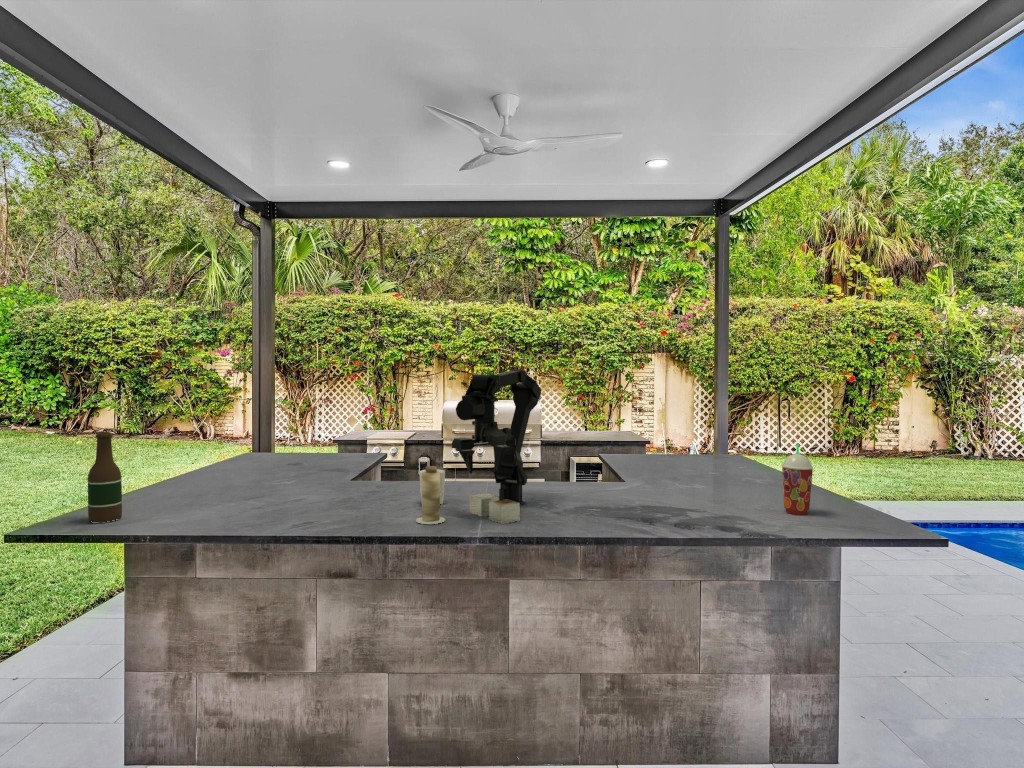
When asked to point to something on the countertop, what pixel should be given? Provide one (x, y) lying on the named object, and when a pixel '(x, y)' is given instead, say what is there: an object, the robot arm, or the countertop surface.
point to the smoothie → (797, 483)
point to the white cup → (442, 484)
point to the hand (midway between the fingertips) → (484, 472)
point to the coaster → (430, 522)
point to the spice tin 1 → (481, 503)
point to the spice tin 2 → (504, 511)
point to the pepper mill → (431, 494)
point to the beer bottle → (104, 483)
